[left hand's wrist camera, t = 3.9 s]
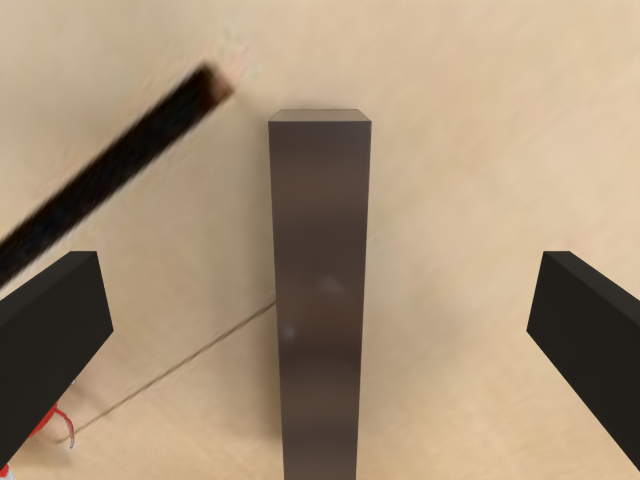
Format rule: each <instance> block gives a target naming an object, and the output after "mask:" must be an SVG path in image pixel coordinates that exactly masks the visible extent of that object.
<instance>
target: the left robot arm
mask: <svg viewBox="0 0 640 480" xmlns="http://www.w3.org/2000/svg"><path fill="white" fill-rule="evenodd" d="M113 331H114V330H113V325H112V321H111V316H110V312H109V307H108V302H107V298H106V293H105V288H104V284H103V279H102V275H101V270H100V265H99V261H98V256H97V251H70V252H69V253H67V254H66V255H64V256H63V257H62V258H60V259H59V260H57V261H56V262H54V263H53V264H52V265H50V266H49V267H47V268H46V269H45V270H43V271H42V272H40V273H39V274H37V275H36V276H35V277H33V278H32V279H30V280H29V281H28V282H26V283H25V284H23V285H22V286H20V287H19V288H18V289H16V290H15V291H13V292H12V293H11V294H9V295H8V296H6V297H5V298H3V299H2V300H1V301H0V471H1V470H2V469H3V468H4V466H5V465H6V464H7V463H8V461H9V460H10V459H11V458H12V456H13V455H14V454H15V453H16V452H17V450H18V449H19V448H20V447H21V445H22V444H23V443H24V442H25V440H26V439H27V438H28V437H29V435H30V434H31V433H32V432H33V430H34V429H35V428H36V427H37V425H38V424H39V423H40V422H41V421H42V419H43V418H44V417H45V416H46V414H47V413H48V412H49V411H50V409H51V408H52V407H53V406H54V404H55V403H56V402H57V401H58V399H59V398H60V397H61V396H62V394H63V393H64V392H65V391H66V389H67V388H68V387H69V386H70V385H71V383H72V382H73V381H74V380H75V378H76V377H77V376H78V375H79V373H80V372H81V371H82V370H83V368H84V367H85V366H86V365H87V363H88V362H89V361H90V360H91V358H92V357H93V356H94V355H95V354H96V352H97V351H98V350H99V349H100V347H101V346H102V345H103V344H104V342H105V341H106V340H107V339H108V337H109V336H110V335H111V334H112V332H113ZM526 331H527V332H528V334H529V335H530V336H531V337H532V339H533V340H534V341H535V342H536V344H537V345H538V346H539V347H540V349H541V350H542V351H543V352H544V354H545V355H546V356H547V357H548V358H549V360H550V361H551V362H552V363H553V365H554V366H555V367H556V368H557V370H558V371H559V372H560V373H561V375H562V376H563V377H564V378H565V380H566V381H567V382H568V383H569V385H570V386H571V387H572V388H573V389H574V391H575V392H576V393H577V394H578V396H579V397H580V398H581V399H582V401H583V402H584V403H585V404H586V406H587V407H588V408H589V409H590V411H591V412H592V413H593V414H594V416H595V417H596V418H597V419H598V421H599V422H600V423H601V424H602V425H603V427H604V428H605V429H606V430H607V432H608V433H609V434H610V435H611V437H612V438H613V439H614V440H615V442H616V443H617V444H618V445H619V447H620V448H621V449H622V450H623V452H624V453H625V454H626V455H627V456H628V458H629V459H630V460H631V461H632V463H633V464H634V465H635V466H636V468H637V469H638V470H639V471H640V301H639V300H638V299H637V298H635V297H634V296H632V295H631V294H629V293H628V292H627V291H625V290H624V289H622V288H621V287H620V286H618V285H617V284H615V283H614V282H612V281H611V280H610V279H608V278H607V277H605V276H604V275H603V274H601V273H600V272H598V271H597V270H595V269H594V268H593V267H591V266H590V265H588V264H587V263H586V262H584V261H583V260H581V259H580V258H578V257H577V256H576V255H574V254H573V253H571V252H570V251H543V256H542V261H541V265H540V270H539V275H538V279H537V284H536V288H535V293H534V298H533V302H532V307H531V312H530V316H529V321H528V325H527V330H526Z"/></svg>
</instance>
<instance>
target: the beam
mask: <svg viewBox="0 0 640 480" xmlns="http://www.w3.org/2000/svg"><path fill="white" fill-rule="evenodd" d="M371 125H372V122H371V120H370V119H368V118H367V117H366V116H365V115H364V114H363V113H362V112H361V111H360V110H280V111H279V112H278V113H277V114H276V115H275V116H274V117H273V118H272V119H270V120H269V122H268V126H269V148H270V171H271V193H272V216H273V238H274V261H275V283H276V306H277V328H278V351H279V373H280V396H281V418H282V441H283V463H284V480H356V463H357V441H358V418H359V396H360V373H361V351H362V328H363V305H364V283H365V260H366V238H367V215H368V193H369V170H370V148H371Z"/></svg>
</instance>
